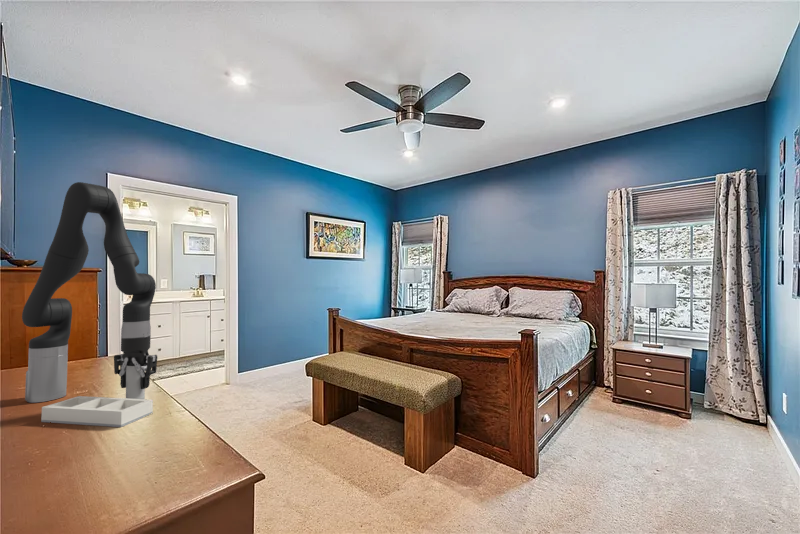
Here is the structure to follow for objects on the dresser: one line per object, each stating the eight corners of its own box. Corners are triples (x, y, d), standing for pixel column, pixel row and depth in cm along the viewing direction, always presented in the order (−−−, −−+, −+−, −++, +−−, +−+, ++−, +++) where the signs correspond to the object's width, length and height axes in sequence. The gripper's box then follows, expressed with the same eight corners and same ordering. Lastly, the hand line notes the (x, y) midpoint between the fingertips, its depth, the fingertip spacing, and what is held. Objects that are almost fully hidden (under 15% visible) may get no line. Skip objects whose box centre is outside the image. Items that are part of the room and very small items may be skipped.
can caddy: (41, 421, 94) (41, 407, 95) (78, 409, 104) (78, 396, 104) (121, 427, 90) (121, 411, 90) (152, 413, 99) (152, 399, 100)
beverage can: (148, 400, 111) (149, 363, 112) (135, 405, 106) (136, 366, 107) (134, 400, 112) (135, 362, 112) (121, 405, 107) (122, 366, 107)
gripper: (105, 336, 107) (103, 390, 107) (145, 337, 105) (143, 392, 104) (128, 333, 115) (126, 383, 114) (165, 333, 112) (164, 385, 112)
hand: (134, 387), depth 109 cm, fingers open, 6 cm apart
